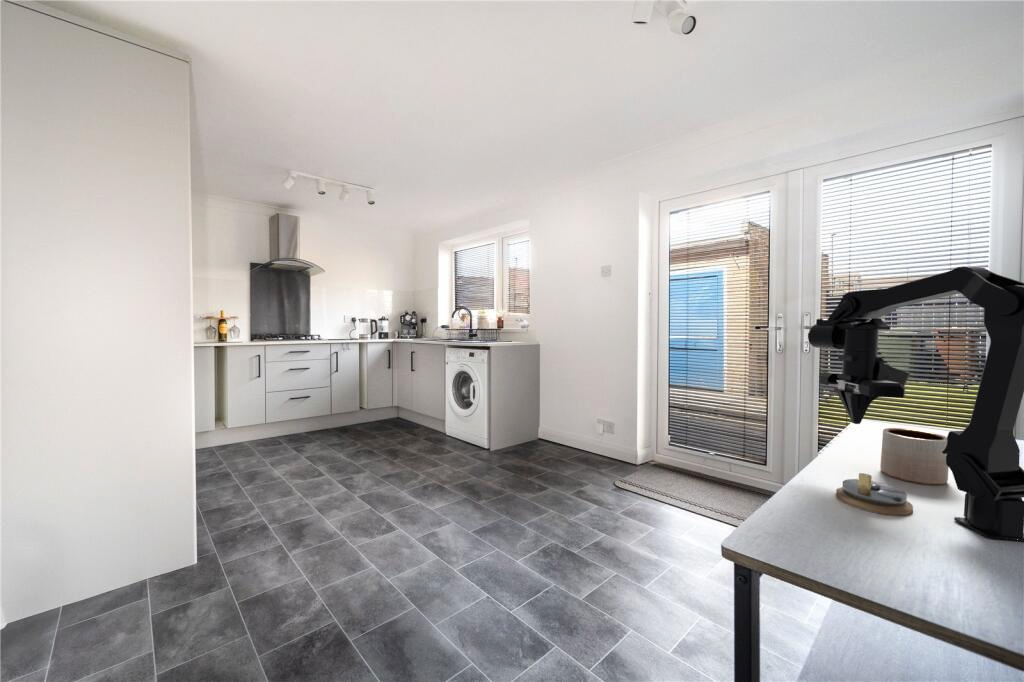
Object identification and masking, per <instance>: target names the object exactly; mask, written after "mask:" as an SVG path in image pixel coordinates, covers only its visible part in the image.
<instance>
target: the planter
mask: <svg viewBox="0 0 1024 682" xmlns="http://www.w3.org/2000/svg"><path fill="white" fill-rule="evenodd" d="M946 446H947V436H945V435H943V434H939V433H935V432H930V431H927V430H920V429H919V430H918V429H913V428H904V427H903V428H901V427H887V428H886V427H885V428H884V429H883V430H882V440H881V453H880V470H881V472H883V473H884V474H885V475H887V476H888V477H891V478H894V479H897V480H900V481H904V482H908V483H913V484H920V485H925V486H940V485H944V484H946V483H947V482H948V480H949V469H950V468H949V467H948V466H947V465H946V455H947V454H943V453H942V452H943V451H944V449H945V448H946Z"/></svg>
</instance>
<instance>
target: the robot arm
mask: <svg viewBox="0 0 1024 682" xmlns="http://www.w3.org/2000/svg"><path fill="white" fill-rule="evenodd" d="M958 294H962V296H964V298H965V299H967V300H968V301H969V302H970V303H973V304H975V305H977V306H979V307H980V308H983V325H984V327H985V330H986V332H987V335H988V337H989V347H988V351H987V355H986V358H985V363H984V366H983V371H982V374H981V378H980V382H979V385H978V389H977V393H976V397H975V401H974V405H973V409H972V413H971V417H970V421H969V423H968V426H966V428H964V429H963V430H951V431H949V432H948V434H947V436H946V437H947V446H946V448H945V449H944V451H943V452H942V453H943V454H947V455H946V465H947V466H948V467H949V468H948V469H949V470H950V471H951V473H952V476H953V479H954V481H955V482H954V483H955V484H956V488H957V490H958V491H961V492H965V495H964V508H963V509H964V510H963V517H959V516H958V517H957V516H955V517H954V518H953V520H954V521H955V522H957V523H959V524H961V525H963V526H965V527H966V528H968V529H970V530H972V531H974V532H976V533H978V534H979V535H982V536H983V537H985V538H988V539H997V540H1005V541H1006V540H1008V541H1010V540H1011V541H1018V540H1024V500H1023V498H1024V469H1023V468H1022V467H1021V466H1020V455H1021V453H1020V451H1021V450H1020V447H1019V445H1018V442H1017V440H1016V438H1015V436H1014V429H1015V425H1016V423H1017V418H1018V415H1019V410H1020V407H1021V405H1022V399H1023V397H1024V282H1023V281H1021V280H1016V279H1015V278H1014V279H1013V278H1010V277H1007V276H1004V275H1001V274H998V273H995V272H994V271H992V270H989V269H986V268H985V267H981V266H980V267H979V266H964V265H963V266H957V267H955V268H953V269H951V270H948V271H945V272H941V273H936V274H933V275H930V276H926V277H924V278H923V277H922V278H920V279H916V280H912V281H907V282H904V283H901V284H898V285H894V286H890V287H887V288H879V289H878V288H877V289H864V290H863V289H861V290H854V291H848V292H846V293H844V294H843V295H842V296H841V297H842V298H841V300H840V301H839V303H838V305H837V306H836V308H835V309H834V310H833V311H832V313H831V314H830V315H829V316H828V318H817V319H816V321H815V322H816V323H815V324H814V325H813V326H812V327H811V328H810V329H809V332H808V333H807V340H808V343H809V344H810V345H811V346H812V347H814V348H818V349H829V350H830V349H831V350H842V354H837V360H842V365H841V371H823V372H822V373H821V374H820V375H819V384H821V385H826V386H829V385H837V388H836V387H835V388H833V391H834V392H836V394H837V396H838V398H839V400H840V402H841V403H842V405H843V407H844V409H845V411H846V413H847V415H848V417H849V419H850V421H851V422H852V424H854V425H860V424H861V423H862V421H863V418H864V416H865V415H866V412H867V411H868V409H869V407H870V405H871V403H872V402H873V401H875V400H876V399H878V398H900V399H904V398H905V397H906V396H905V395H906V387H905V386H906V384H907V382H908V380H909V377H910V376H911V373H910V372H907V371H904V370H901V369H898V368H896V367H893V366H890V364H888V363H885V359H884V358H883V356H878V349H879V334H880V333H879V331H886V330H887V331H890V330H891V326H890V325H889V324H887V323H886V322H885V321H883V319H881V317H885V316H887V315H889V314H892V313H893V312H895V311H896V310H897V309H899V308H902V307H905V306H910V305H914V304H919V303H924V302H927V301H932V300H935V299H940V298H945V297H949V296H953V295H958ZM1017 539H1018V540H1017Z"/></svg>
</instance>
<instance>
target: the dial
mask: <svg viewBox="0 0 1024 682" xmlns="http://www.w3.org/2000/svg"><path fill="white" fill-rule="evenodd" d="M872 479H873V477H872V475H871V474H869V473H864V472H863V473H862V472H860V473H858V478H848V479H847V478H846V479H844V480H842V490H843V492H844V493H846V494H847V495H849V496H851V497H854V498H856V499H859V500H862V501H866V502H870V503H874V504H879V505H886V506H902V505H905V504H906V501H908V500H907V499H908V495H907V493H906V492H905V491H904V490H902V489H900V488H898V487H895V486H892V485H890V484H886V483H883V482H879V481H873V480H872Z"/></svg>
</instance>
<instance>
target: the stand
mask: <svg viewBox="0 0 1024 682" xmlns="http://www.w3.org/2000/svg"><path fill="white" fill-rule="evenodd" d="M835 496H836V497H837V499H838V500H839V501H841V502H842V503H845V504H847V505H849V506H851V507H854V508H857V509H860V510H864V511H867V512H871V513H876V514H880V515H886V516H902V517H903V516H909V515H912V514H913V513H914V511H913V510H914V505H913V504H912V503H910V501H908V500H907V501H906V504H905V505H902V506H886V505H879V504H874V503H870V502H866V501H862V500H859V499H856V498H854V497H851V496H849V495H847V494H846V493H844V492H843V490H842V487H838V488H837V489H836V491H835Z"/></svg>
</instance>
